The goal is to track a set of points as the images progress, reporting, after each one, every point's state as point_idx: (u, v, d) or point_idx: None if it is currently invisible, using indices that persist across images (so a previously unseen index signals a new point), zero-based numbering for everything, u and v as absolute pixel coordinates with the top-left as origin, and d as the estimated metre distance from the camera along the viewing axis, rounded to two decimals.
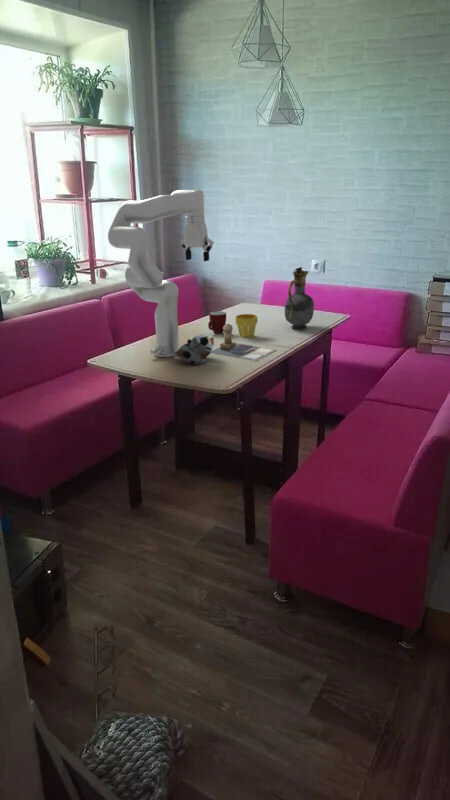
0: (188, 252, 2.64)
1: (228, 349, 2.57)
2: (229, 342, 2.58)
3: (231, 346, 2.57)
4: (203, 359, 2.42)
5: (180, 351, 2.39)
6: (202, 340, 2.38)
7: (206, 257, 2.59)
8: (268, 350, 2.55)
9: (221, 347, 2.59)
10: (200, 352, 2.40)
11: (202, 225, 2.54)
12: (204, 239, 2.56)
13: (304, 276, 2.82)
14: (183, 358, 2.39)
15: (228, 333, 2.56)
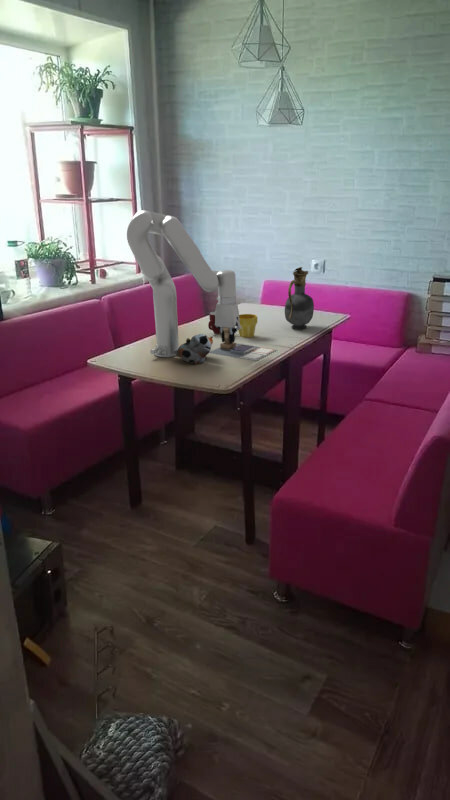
0: None
1: (228, 349, 2.57)
2: None
3: (231, 346, 2.57)
4: (202, 358, 2.44)
5: (180, 350, 2.40)
6: (201, 339, 2.39)
7: (232, 339, 2.56)
8: (268, 350, 2.55)
9: (221, 347, 2.59)
10: (200, 352, 2.41)
11: (234, 306, 2.50)
12: (235, 324, 2.52)
13: (304, 276, 2.82)
14: (183, 357, 2.40)
15: (228, 333, 2.56)
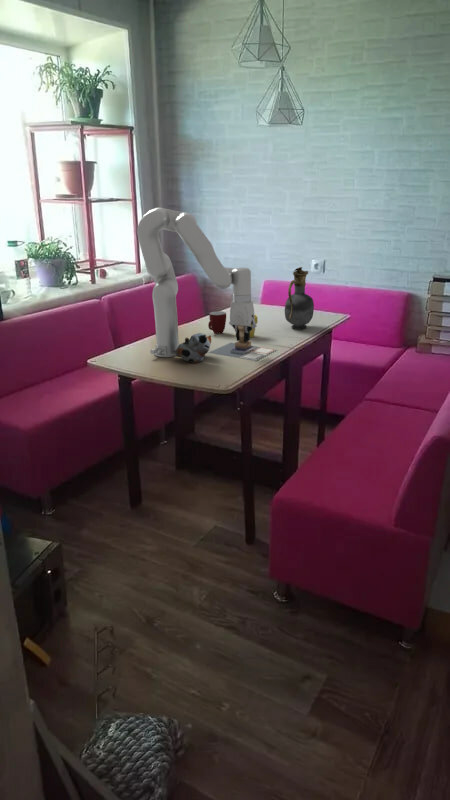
0: None
1: (243, 348, 2.52)
2: None
3: (246, 345, 2.53)
4: (202, 357, 2.45)
5: (179, 350, 2.41)
6: (201, 338, 2.41)
7: (247, 338, 2.52)
8: (268, 350, 2.55)
9: (236, 346, 2.54)
10: (199, 351, 2.42)
11: (249, 304, 2.45)
12: (250, 322, 2.48)
13: (304, 276, 2.82)
14: (182, 356, 2.41)
15: (243, 331, 2.51)
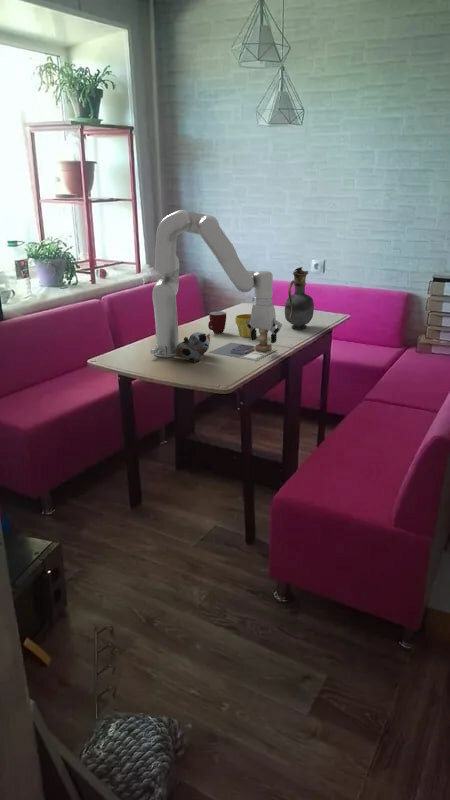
0: (254, 332, 2.55)
1: (264, 351, 2.52)
2: (265, 344, 2.53)
3: (267, 348, 2.52)
4: (201, 356, 2.46)
5: (179, 349, 2.42)
6: (201, 337, 2.42)
7: (274, 339, 2.50)
8: None
9: (256, 349, 2.54)
10: (199, 349, 2.44)
11: (271, 308, 2.45)
12: (272, 321, 2.47)
13: (304, 276, 2.82)
14: (183, 355, 2.42)
15: (264, 335, 2.51)
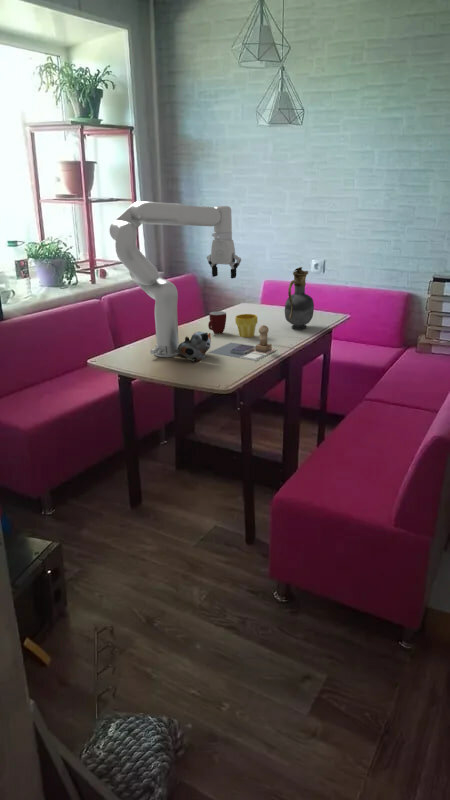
0: (214, 269, 2.59)
1: (264, 351, 2.52)
2: (265, 344, 2.53)
3: (267, 348, 2.52)
4: (203, 355, 2.48)
5: (182, 349, 2.43)
6: (203, 336, 2.43)
7: (233, 274, 2.54)
8: None
9: (256, 349, 2.54)
10: (202, 349, 2.45)
11: (230, 242, 2.49)
12: (232, 256, 2.51)
13: (304, 276, 2.82)
14: (186, 355, 2.43)
15: (264, 335, 2.51)
